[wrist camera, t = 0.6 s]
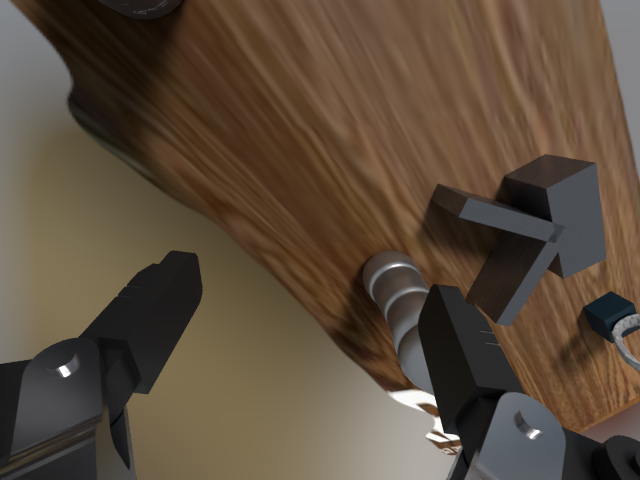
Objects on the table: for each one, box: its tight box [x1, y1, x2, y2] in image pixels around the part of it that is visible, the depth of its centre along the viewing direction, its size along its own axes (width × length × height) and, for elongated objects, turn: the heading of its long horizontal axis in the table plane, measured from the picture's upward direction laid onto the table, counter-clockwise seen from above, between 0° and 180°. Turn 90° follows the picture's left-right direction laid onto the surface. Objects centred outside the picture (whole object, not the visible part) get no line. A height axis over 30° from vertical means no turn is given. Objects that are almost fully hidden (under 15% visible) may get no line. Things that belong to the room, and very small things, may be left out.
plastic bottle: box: [363, 250, 434, 395], centre depth 28 cm, size 6×7×20 cm
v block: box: [431, 154, 606, 326], centre depth 34 cm, size 18×14×6 cm
